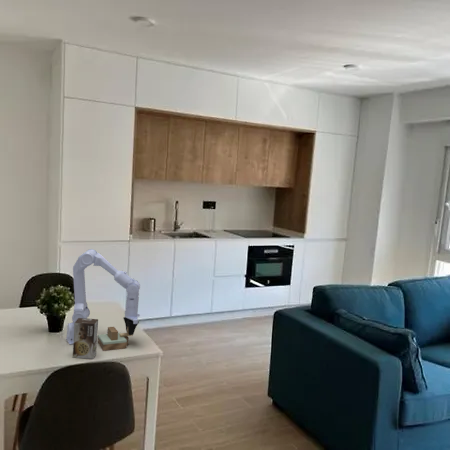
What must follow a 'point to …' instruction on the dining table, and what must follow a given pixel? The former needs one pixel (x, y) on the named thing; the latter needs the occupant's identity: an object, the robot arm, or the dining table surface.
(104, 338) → the toolbox lid
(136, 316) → the robot arm
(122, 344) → the toolbox
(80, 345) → the cookie box
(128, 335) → the mallet
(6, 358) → the dining table surface
